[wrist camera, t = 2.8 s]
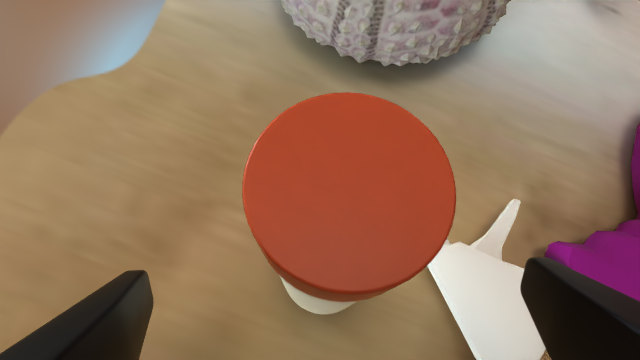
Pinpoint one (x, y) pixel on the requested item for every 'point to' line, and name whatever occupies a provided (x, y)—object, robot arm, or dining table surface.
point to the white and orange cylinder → (347, 198)
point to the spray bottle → (505, 279)
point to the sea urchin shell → (395, 26)
